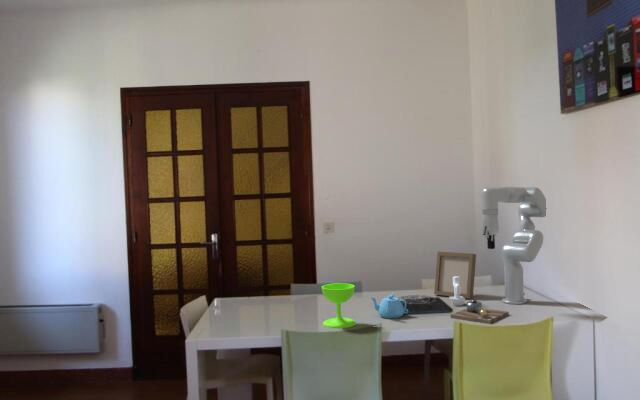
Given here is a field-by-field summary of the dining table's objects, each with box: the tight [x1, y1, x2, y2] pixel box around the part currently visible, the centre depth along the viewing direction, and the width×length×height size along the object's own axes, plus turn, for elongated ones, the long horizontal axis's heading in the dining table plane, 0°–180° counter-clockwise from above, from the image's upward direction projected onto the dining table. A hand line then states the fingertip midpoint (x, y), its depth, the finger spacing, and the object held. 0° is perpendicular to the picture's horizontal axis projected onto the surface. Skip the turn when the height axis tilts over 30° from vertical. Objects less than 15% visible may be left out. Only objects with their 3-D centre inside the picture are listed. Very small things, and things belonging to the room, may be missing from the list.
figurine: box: [448, 276, 466, 307], centre depth 299 cm, size 7×9×15 cm
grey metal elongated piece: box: [466, 299, 487, 316], centre depth 272 cm, size 19×7×5 cm, turn 2°
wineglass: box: [321, 282, 357, 329], centre depth 268 cm, size 16×16×18 cm
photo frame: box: [433, 251, 477, 300], centre depth 322 cm, size 15×22×25 cm
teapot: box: [369, 291, 409, 319], centre depth 280 cm, size 15×15×10 cm
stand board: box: [450, 307, 510, 325], centre depth 273 cm, size 21×20×2 cm
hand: (491, 248), depth 285 cm, fingers closed
